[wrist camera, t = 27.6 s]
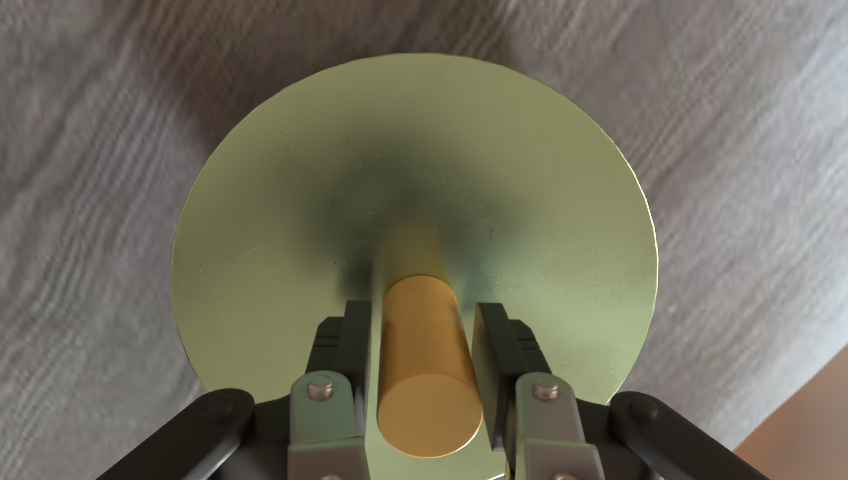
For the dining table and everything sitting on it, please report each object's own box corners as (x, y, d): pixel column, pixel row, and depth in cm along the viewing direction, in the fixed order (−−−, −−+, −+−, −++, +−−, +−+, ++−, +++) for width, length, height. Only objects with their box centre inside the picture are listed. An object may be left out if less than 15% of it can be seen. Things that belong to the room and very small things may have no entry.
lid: (209, 470, 19) (130, 649, 14) (151, 38, 14) (-18, 33, 8) (602, 468, 20) (683, 634, 15) (689, 63, 15) (871, 74, 9)
